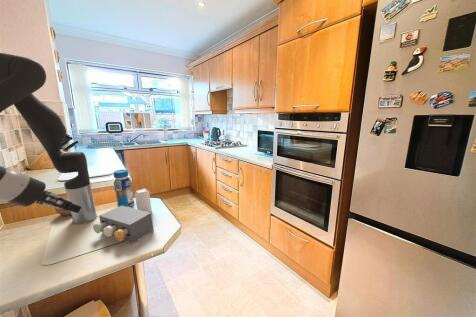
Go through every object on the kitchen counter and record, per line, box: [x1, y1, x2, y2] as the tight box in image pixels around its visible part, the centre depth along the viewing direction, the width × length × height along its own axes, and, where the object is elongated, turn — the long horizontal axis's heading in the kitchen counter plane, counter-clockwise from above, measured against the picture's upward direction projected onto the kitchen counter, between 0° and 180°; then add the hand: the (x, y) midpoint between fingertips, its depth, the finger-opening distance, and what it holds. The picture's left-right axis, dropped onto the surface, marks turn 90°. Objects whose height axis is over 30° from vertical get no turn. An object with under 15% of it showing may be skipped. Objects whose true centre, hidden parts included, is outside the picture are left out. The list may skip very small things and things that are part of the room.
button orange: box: [114, 228, 129, 242], centre depth 75 cm, size 4×5×4 cm
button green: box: [93, 221, 108, 234], centre depth 80 cm, size 4×5×4 cm
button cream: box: [103, 224, 118, 238], centre depth 77 cm, size 4×5×4 cm
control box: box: [98, 206, 154, 244], centre depth 83 cm, size 19×10×8 cm, turn 66°
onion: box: [54, 196, 72, 217], centre depth 100 cm, size 10×9×10 cm
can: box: [134, 187, 152, 213], centre depth 99 cm, size 6×6×12 cm
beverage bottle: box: [112, 169, 135, 208], centre depth 107 cm, size 8×8×20 cm
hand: (77, 209), depth 66 cm, fingers closed
